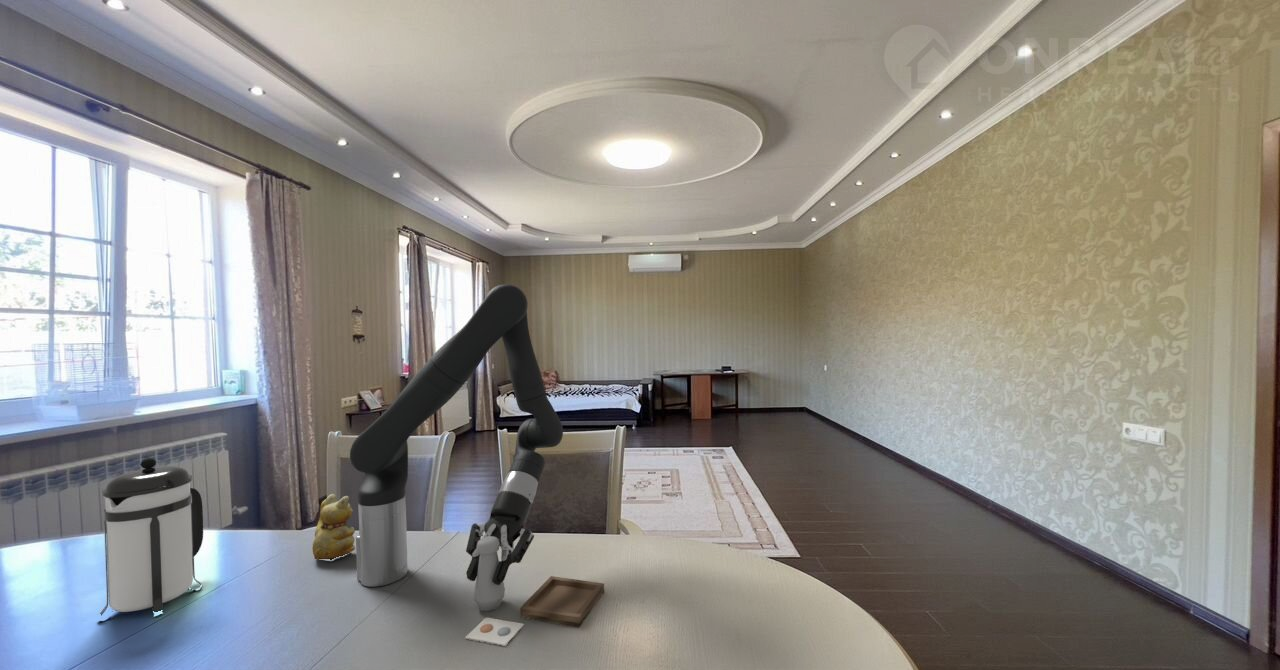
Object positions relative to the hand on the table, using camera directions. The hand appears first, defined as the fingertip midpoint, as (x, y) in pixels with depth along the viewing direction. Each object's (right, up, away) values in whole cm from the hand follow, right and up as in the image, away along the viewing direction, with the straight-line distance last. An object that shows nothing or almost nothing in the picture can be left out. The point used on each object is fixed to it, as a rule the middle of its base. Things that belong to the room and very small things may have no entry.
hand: (483, 581), depth 91 cm
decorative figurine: (-45, -7, +24) cm, 51 cm away
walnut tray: (+15, -5, +1) cm, 16 cm away
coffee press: (-70, -8, +7) cm, 71 cm away
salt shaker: (+1, -6, +2) cm, 6 cm away
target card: (+4, -6, -7) cm, 10 cm away
